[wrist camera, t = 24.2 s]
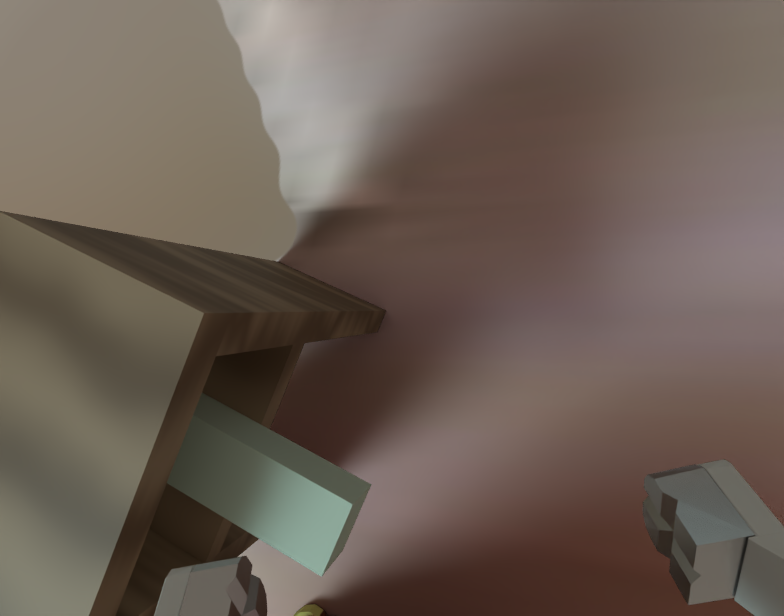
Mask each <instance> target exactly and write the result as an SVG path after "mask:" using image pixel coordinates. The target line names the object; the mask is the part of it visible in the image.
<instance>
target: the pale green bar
mask: <svg viewBox="0 0 784 616" xmlns="http://www.w3.org/2000/svg"><path fill="white" fill-rule="evenodd" d="M167 483H168V484H169V485H171V486H173V487H174V488H176V489H178V490H179V491H181V492H182V493H184V494H186V495H187V496H189V497H191V498H192V499H194V500H196V501H197V502H199V503H201V504H202V505H204V506H206V507H207V508H209V509H211V510H212V511H214V512H216V513H217V514H219V515H221V516H222V517H224V518H225V519H227V520H229V521H230V522H232V523H234V524H235V525H237V526H239V527H240V528H242V529H244V530H245V531H247V532H249V533H250V534H252V535H254V536H255V537H257V538H259V539H260V540H262V541H264V542H265V543H267V544H268V545H270V546H272V547H273V548H275V549H277V550H278V551H280V552H282V553H283V554H285V555H287V556H288V557H290V558H292V559H293V560H295V561H297V562H298V563H300V564H302V565H303V566H305V567H307V568H308V569H310V570H312V571H313V572H315V573H316V574H318V575H320V576H321V577H322V576H323V574H324V573H325V572H326V571H327V569H328V568H329V567H330V566H331V564H332V563H333V562H334V561H335V559H336V558H337V557H338V555H339V554H340V553H341V552H342V550H343V549H344V546H345V544H346V542H347V539H348V537H349V535H350V532H351V530H352V528H353V525H354V523H355V521H356V519H357V516H358V514H359V512H360V509H361V507H362V505H363V502H364V500H365V498H366V495H367V493H368V491H369V489H370V486H371V484H369V483H367V482H366V481H364V480H362V479H360V478H358V477H356V476H355V475H353V474H351V473H349V472H347V471H345V470H344V469H342V468H340V467H338V466H336V465H334V464H332V463H331V462H329V461H327V460H325V459H323V458H321V457H320V456H318V455H316V454H314V453H312V452H310V451H309V450H307V449H305V448H303V447H301V446H299V445H298V444H296V443H294V442H292V441H290V440H288V439H287V438H285V437H283V436H281V435H279V434H277V433H275V432H274V431H272V430H270V429H268V428H266V427H264V426H263V425H261V424H259V423H257V422H255V421H253V420H252V419H250V418H248V417H246V416H244V415H242V414H241V413H239V412H237V411H235V410H233V409H231V408H229V407H228V406H226V405H224V404H222V403H220V402H218V401H217V400H215V399H213V398H211V397H209V396H207V395H206V394H204V393H201V396H200V399H199V401H198V404H197V406H196V409H195V411H194V414H193V417H192V419H191V422H190V424H189V427H188V430H187V432H186V435H185V437H184V440H183V442H182V445H181V448H180V450H179V453H178V455H177V458H176V461H175V463H174V466H173V468H172V471H171V474H170V476H169V479H168V481H167Z"/></svg>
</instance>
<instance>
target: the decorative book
mask: <svg viewBox="0 0 784 616" xmlns="http://www.w3.org/2000/svg"><path fill="white" fill-rule="evenodd" d="M294 616H327V615H326V613H325V612H324V610H323V609H321V608H320V607H319V606H317V605H316V604H312V605H305V606H304V607H302V608H301V609H300V610H298V611H297V612H296V613H295V614H294Z"/></svg>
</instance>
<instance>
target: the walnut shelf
mask: <svg viewBox="0 0 784 616" xmlns="http://www.w3.org/2000/svg"><path fill="white" fill-rule="evenodd" d="M385 312H386V310H384V309H382V308H379V307H377V306H375V305H373V304H370V303H368V302H366V301H364V300H362V299H359V298H357V297H355V296H353V295H350V294H348V293H346V292H344V291H342V290H339V289H337V288H335V287H333V286H331V285H328V284H326V283H324V282H322V281H319V280H317V279H315V278H313V277H311V276H308V275H306V274H304V273H302V272H299V271H297V270H295V269H293V268H291V267H288V266H286V265H284V264H282V263H279V262H276V261H270V260H265V259H260V258H255V257H249V256H244V255H238V254H233V253H227V252H222V251H216V250H211V249H205V248H200V247H194V246H189V245H184V244H177V243H173V242H167V241H162V240H156V239H151V238H145V237H140V236H134V235H129V234H123V233H118V232H112V231H107V230H101V229H96V228H90V227H85V226H80V225H74V224H68V223H63V222H58V221H52V220H46V219H41V218H36V217H30V216H25V215H19V214H13V213H8V212H2V211H0V616H154V614H155V611H156V607H157V604H158V601H159V598H160V594H161V591H162V588H163V585H164V581H165V578H166V577H167V575H168V574H169V572H170V571H171V569H176V568H181V567H186V566H191V565H196V564H203V563H208V562H214V561H220V560H225V559H231V558H236V557H238V556H239V555H240V554H241V553H243V552H244V551H245V550H246V549H247V548H248V547H250V546H251V545H252V544H253V543H254V542H256V541H257V540H258V539H259V538H257V537H255V536H254V535H252V534H250V533H249V532H247V531H245V530H244V529H242V528H240V527H239V526H237V525H235V524H234V523H232V522H230V521H229V520H227V519H225V518H224V517H222V516H221V515H219V514H217V513H216V512H214V511H212V510H211V509H209V508H207V507H206V506H204V505H202V504H201V503H199V502H197V501H196V500H194V499H192V498H191V497H189V496H187V495H186V494H184V493H182V492H181V491H179V490H178V489H176V488H174V487H173V486H171V485H169V484H168V483H167V481H168V479H169V476H170V474H171V471H172V468H173V466H174V463H175V461H176V458H177V455H178V453H179V450H180V448H181V445H182V442H183V440H184V437H185V435H186V432H187V430H188V427H189V424H190V422H191V419H192V417H193V414H194V411H195V409H196V406H197V404H198V401H199V399H200V396H201V393H204V394H206V395H207V396H209V397H211V398H213V399H215V400H217V401H218V402H220V403H222V404H224V405H226V406H228V407H229V408H231V409H233V410H235V411H237V412H239V413H241V414H242V415H244V416H246V417H248V418H250V419H252V420H253V421H255V422H257V423H259V424H261V425H263V426H264V427H266V428H268V429H270V427H271V425H272V422H273V420H274V417H275V415H276V412H277V410H278V407H279V405H280V402H281V400H282V397H283V395H284V392H285V390H286V388H287V385H288V383H289V380H290V378H291V375H292V373H293V370H294V368H295V365H296V363H297V360H298V358H299V355H300V353H301V350H302V348H303V345H304V343H308V342H315V341H322V340H328V339H335V338H342V337H348V336H355V335H362V334H368V333H375V332H378V329H379V327H380V324H381V322H382V320H383V317H384V315H385Z"/></svg>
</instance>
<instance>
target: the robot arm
mask: <svg viewBox="0 0 784 616" xmlns="http://www.w3.org/2000/svg"><path fill="white" fill-rule="evenodd" d="M644 489H645V490H646V492H647V494H648V495H649V496H648V497H647V498H646V499H645V500H644V502H643V517H644V521H645V525H646V528H647V531H648V533H649V536H650V538H651V540H652V542H653V544H654V545H655V547H656V549H657V551H659V552H660V553H662V554H664V555H665V556H667V557H668V558H670V569H669V572H670V574H671V576H672V578H673V579H674V581H675V583H676V585H677V586H678V588H679V590H680V592H681V593H682V595H683V597H684V599H685V600H686V602H687V604H688V605H692V604H698V603H705V602H711V601H717V600H723V599H730V598H735V601H736V602H737V603H739V604H740V605H741V606H743V607H744V608H745V609H746V610H748V611H749V612H750V613H752V614H753V615H754V616H784V526H783V525H782V524H781V523H780V521H779V520H778V519H777V518H776V517H775V515H774V514H773V513H772V512H771V511H770V509H769V508H768V507H767V506H766V505H765V503H764V502H763V501H762V500H761V499H760V497H759V496H758V495H757V494H756V493H755V491H754V490H753V489H752V488H751V487H750V485H749V484H748V483H747V482H746V481H745V479H744V478H743V477H742V476H741V475H740V473H739V472H738V471H737V470H736V469H735V467H734V466H733V465H732V464H731V463H730V462H728V461H726V460H725V459H724V460H717V461H712V462H708V463H703V464H699V465H696V464H694V465H690V466H685V467H681V468H676V469H671V470H667V471H662V472H657V473H653V474H648V475H647V476H646V477H645V479H644ZM251 571H252V564H251V562H250V561H249V559H248V558H247V556H242V557H236V558H231V559H225V560H220V561H214V562H208V563H203V564H196V565H191V566H186V567H181V568H176V569H171V571H170V572H169V574H168V575H167V577H166V578H165V581H164V585H163V588H162V591H161V594H160V598H159V601H158V604H157V607H156V611H155V614H154V616H267V598H266V593H265V589H264V585H263V583H262V582H261V580H260V578H258V577H256V576H254V575H252V574H251Z"/></svg>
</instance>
